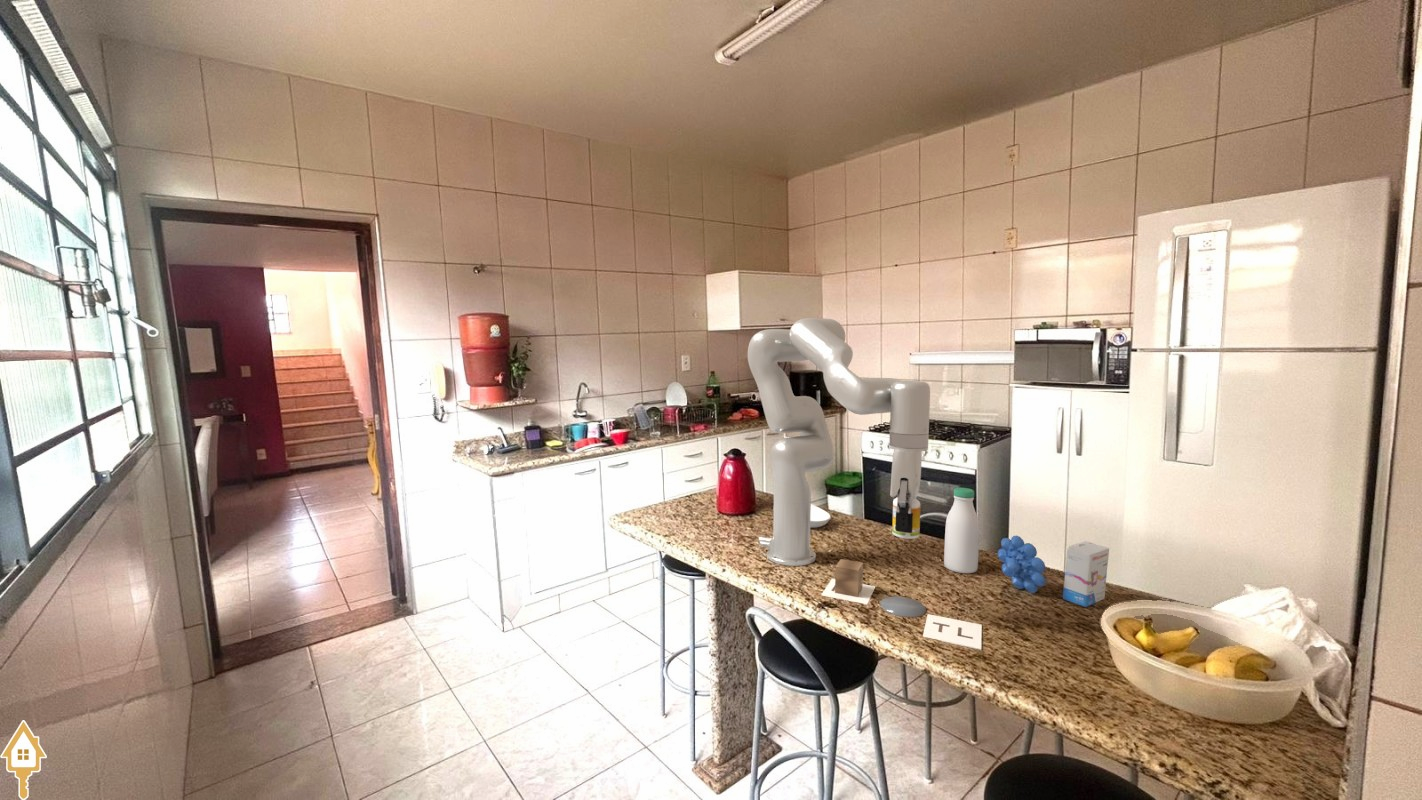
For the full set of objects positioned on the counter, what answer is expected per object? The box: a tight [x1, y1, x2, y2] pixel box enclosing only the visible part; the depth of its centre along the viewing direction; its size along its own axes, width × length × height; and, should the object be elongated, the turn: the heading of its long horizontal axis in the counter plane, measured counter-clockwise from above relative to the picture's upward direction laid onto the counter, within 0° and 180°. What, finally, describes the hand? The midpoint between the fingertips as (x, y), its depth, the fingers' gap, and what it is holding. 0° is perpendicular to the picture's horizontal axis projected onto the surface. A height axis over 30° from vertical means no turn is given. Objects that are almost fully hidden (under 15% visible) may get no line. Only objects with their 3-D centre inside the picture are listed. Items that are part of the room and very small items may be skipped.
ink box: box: [1062, 540, 1110, 608], centre depth 122 cm, size 9×5×12 cm, turn 122°
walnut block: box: [834, 558, 864, 597], centre depth 126 cm, size 5×5×6 cm
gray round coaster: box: [880, 595, 927, 618], centre depth 119 cm, size 9×9×1 cm
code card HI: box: [820, 578, 876, 605], centre depth 126 cm, size 10×10×1 cm
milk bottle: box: [943, 487, 980, 574], centre depth 139 cm, size 8×8×20 cm
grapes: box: [996, 535, 1047, 594], centre depth 127 cm, size 12×7×12 cm, turn 25°
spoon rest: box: [772, 502, 831, 529], centre depth 179 cm, size 24×12×7 cm, turn 28°
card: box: [922, 613, 983, 651], centre depth 109 cm, size 10×10×1 cm
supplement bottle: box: [891, 493, 921, 540], centre depth 117 cm, size 5×5×10 cm
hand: (905, 526), depth 117 cm, fingers closed on supplement bottle, 5 cm apart
